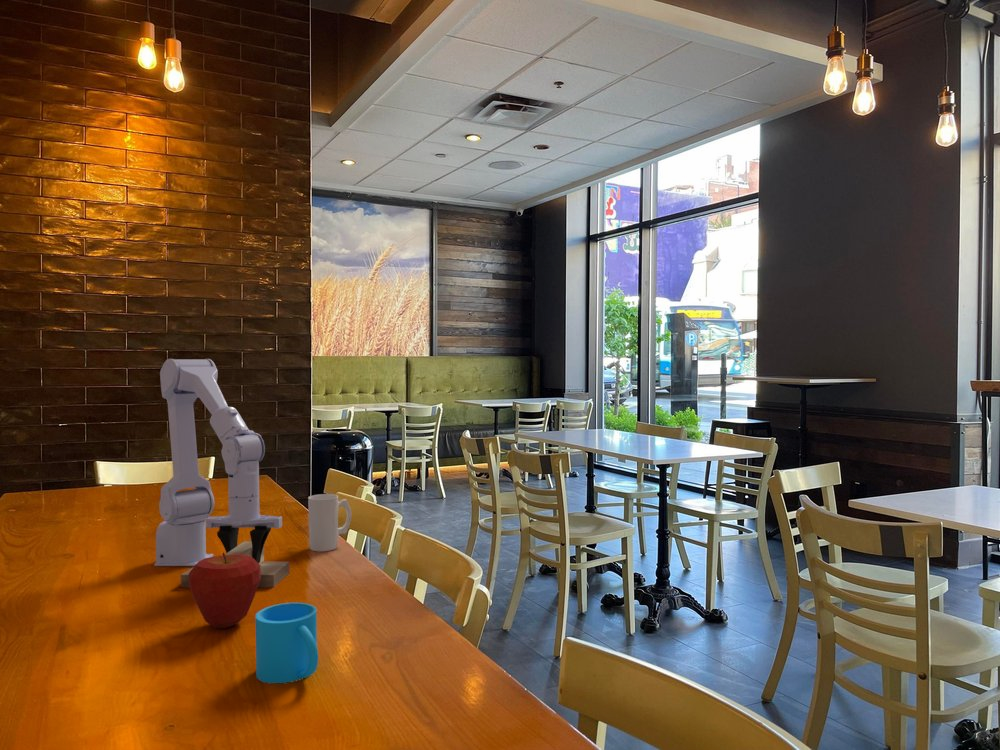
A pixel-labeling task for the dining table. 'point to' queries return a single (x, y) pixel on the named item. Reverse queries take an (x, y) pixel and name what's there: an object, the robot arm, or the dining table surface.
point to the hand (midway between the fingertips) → (244, 563)
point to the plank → (269, 574)
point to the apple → (224, 588)
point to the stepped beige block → (245, 550)
